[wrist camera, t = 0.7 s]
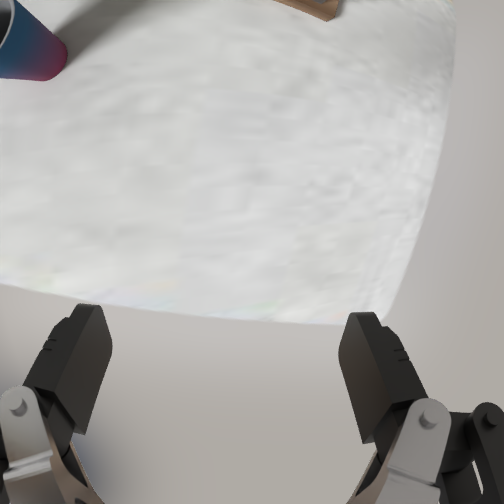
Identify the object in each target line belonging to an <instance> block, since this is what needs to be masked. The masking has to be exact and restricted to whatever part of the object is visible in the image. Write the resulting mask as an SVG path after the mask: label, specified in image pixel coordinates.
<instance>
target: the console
mask: <svg viewBox="0 0 504 504" xmlns="http://www.w3.org/2000/svg"><path fill="white" fill-rule="evenodd" d="M274 1H277V2H280V3H282V4H285V5H288V6H290V7H293V8H296V9H298V10H301V11H303V12H306V13H308V14H310V15H313V16H315V17H317V18H320V19H322V20H324V21H326V22H327V21H329V20H331V19H332V18H334V17H335V13H336V10H337V6H338V2H339V0H274Z"/></svg>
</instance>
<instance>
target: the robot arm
mask: <svg viewBox="0 0 504 504" xmlns="http://www.w3.org/2000/svg"><path fill="white" fill-rule="evenodd" d="M338 354H339V355H338V356H339V363H340V367H341V370H342V373H343V377H344V379H345V383H346V386H347V390H348V393H349V397H350V400H351V403H352V407H353V411H354V414H355V418H356V421H357V425H358V428H359V432H360V435H361V439H362V443H363V444H366V443H372V442H375V445H376V448H377V449H376V451H375V452H374V454H373V456H372V458H371V460H370V462H369V464H368V466H367V468H366V470H365V472H364V474H363V476H362V478H361V480H360V481H359V483H358V485H357V487H356V489H355V491H354V492H353V494H352V496H351V497H350V499H349V500H348V502H347V503H346V504H438V501H439V503H440V504H504V412H503V411H502V410H501V409H500V408H499V407H498V406H497V405H495V404H493V403H489V402H485V403H481V404H480V405H478V406H477V407H476V408H475V410H474V411H473V412H472V413H460V412H449V411H448V410H447V408H446V407H445V406H444V405H443V404H442V403H440V402H439V401H437V400H435V399H431V398H428V396H427V394H426V392H425V389H424V387H423V385H422V383H421V381H420V379H419V377H418V375H417V373H416V371H415V368H414V366H413V365H412V363H411V361H409V356H408V355H407V352H406V351H404V347H403V345H402V343H401V341H400V339H399V337H398V336H397V335H396V334H395V333H394V332H393V331H392V330H391V329H390V328H389V327H388V326H385V327H382V326H381V324H380V322H379V320H378V318H377V316H376V314H375V313H374V312H354V313H350V315H349V317H348V320H347V323H346V326H345V330H344V333H343V336H342V339H341V342H340V346H339V352H338ZM111 355H112V339H111V335H110V332H109V329H108V326H107V323H106V320H105V316H104V313H103V310H102V308H101V306H100V305H91V304H81V303H80V304H78V305H77V306H76V307H75V309H74V310H73V312H72V314H71V316H70V317H69V318H68V317H65V318H64V319H62V320H61V321H60V322H59V323H58V324H57V325H56V326H54V328H53V330H52V331H51V333H50V335H49V337H48V341H47V340H46V342H45V344H44V345H43V349H42V350H41V351H40V353H39V355H38V356H37V358H36V360H35V362H34V364H33V366H32V368H31V370H30V372H29V374H28V375H27V377H26V379H25V381H24V383H23V385H22V386H15V387H12V388H10V389H8V390H7V391H6V392H5V393H4V394H3V395H2V397H1V398H0V504H9V503H11V504H105V503H104V502H103V501H102V499H101V498H100V497H99V496H98V495H97V493H96V492H95V490H94V489H93V487H92V485H91V483H90V481H89V479H88V477H87V475H86V473H85V470H84V468H83V466H82V464H81V462H80V459H79V457H78V455H77V453H76V450H75V448H74V445H73V443H72V441H71V437H72V434H73V432H74V433H78V434H83V435H85V433H86V430H87V427H88V423H89V420H90V417H91V414H92V410H93V407H94V404H95V401H96V398H97V395H98V392H99V389H100V386H101V383H102V381H103V378H104V375H105V372H106V369H107V366H108V364H109V361H110V358H111ZM474 460H475V463H476V465H477V469H478V472H479V475H480V478H481V481H482V484H483V494H481V490H480V487H479V484H478V480H477V477H476V474H475V471H474V468H473V465H472V462H473V461H474Z"/></svg>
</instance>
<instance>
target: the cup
mask: <svg viewBox="0 0 504 504" xmlns="http://www.w3.org/2000/svg"><path fill="white" fill-rule="evenodd" d="M66 60H67V49H66V46H65V45H64V44H63V43H62V42H61V41H60V40H59V39H58V38H57V37H56V36H55V35H54V34H53V33H52V32H51V31H49V30H48V29H47V28H46V27H45V26H44V25H43V24H42V23H41V22H40V21H39V20H37V19H36V18H35V17H34V16H33V15H32V14H31V13H30V12H29V11H28V10H27V9H25V8H24V7H23V6H22V5H21V4H20V3H19V2H18V1H17V0H0V78H6V79H22V80H34V81H47V80H50V79H52V78H53V77H55V76H56V75H57V74H59V72H60V71H61V70H62V69H63V67H64V65H65V63H66Z"/></svg>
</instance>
